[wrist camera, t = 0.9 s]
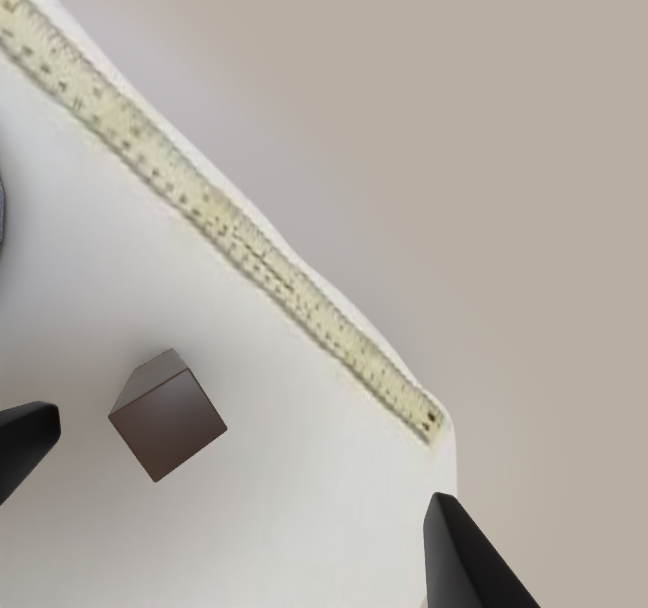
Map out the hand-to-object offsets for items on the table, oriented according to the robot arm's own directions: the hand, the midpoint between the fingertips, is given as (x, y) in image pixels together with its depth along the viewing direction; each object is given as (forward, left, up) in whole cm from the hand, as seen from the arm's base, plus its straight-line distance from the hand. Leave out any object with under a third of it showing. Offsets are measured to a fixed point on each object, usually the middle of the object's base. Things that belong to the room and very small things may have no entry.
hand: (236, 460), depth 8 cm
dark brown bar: (-1, +1, -15) cm, 15 cm away
